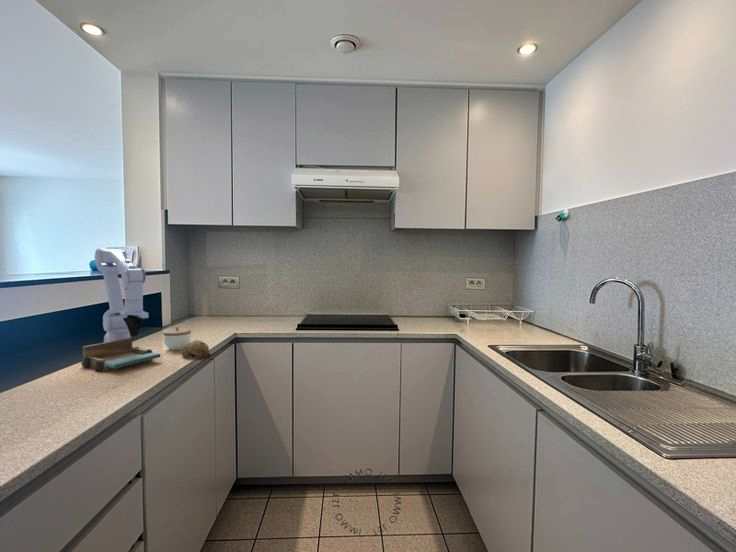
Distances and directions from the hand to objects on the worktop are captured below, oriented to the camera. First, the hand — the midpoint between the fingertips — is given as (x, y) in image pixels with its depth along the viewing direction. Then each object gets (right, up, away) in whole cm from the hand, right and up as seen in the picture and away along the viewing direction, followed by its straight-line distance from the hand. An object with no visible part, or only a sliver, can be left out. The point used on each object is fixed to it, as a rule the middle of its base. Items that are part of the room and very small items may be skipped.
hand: (134, 335), depth 130 cm
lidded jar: (+6, -9, +18) cm, 21 cm away
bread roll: (+19, -10, +8) cm, 23 cm away
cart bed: (-3, -10, -4) cm, 11 cm away
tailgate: (+3, -8, -7) cm, 11 cm away
